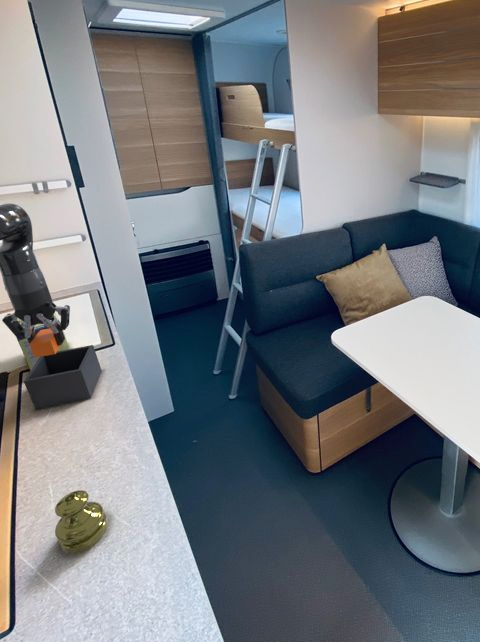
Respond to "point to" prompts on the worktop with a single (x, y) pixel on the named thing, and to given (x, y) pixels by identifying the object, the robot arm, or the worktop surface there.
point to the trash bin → (63, 377)
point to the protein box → (26, 347)
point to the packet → (44, 343)
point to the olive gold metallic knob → (79, 522)
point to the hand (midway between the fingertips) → (49, 345)
